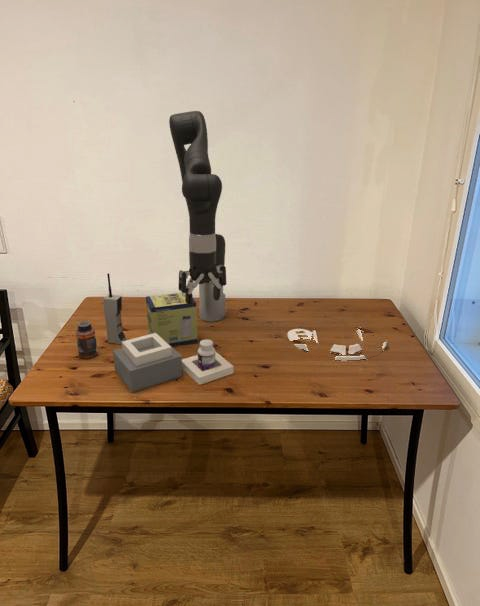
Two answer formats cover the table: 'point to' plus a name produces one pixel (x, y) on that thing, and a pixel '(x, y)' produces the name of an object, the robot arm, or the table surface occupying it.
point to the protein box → (172, 318)
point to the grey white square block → (147, 362)
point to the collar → (209, 375)
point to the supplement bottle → (86, 340)
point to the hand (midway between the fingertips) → (203, 302)
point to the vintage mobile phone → (113, 317)
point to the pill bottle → (206, 355)
